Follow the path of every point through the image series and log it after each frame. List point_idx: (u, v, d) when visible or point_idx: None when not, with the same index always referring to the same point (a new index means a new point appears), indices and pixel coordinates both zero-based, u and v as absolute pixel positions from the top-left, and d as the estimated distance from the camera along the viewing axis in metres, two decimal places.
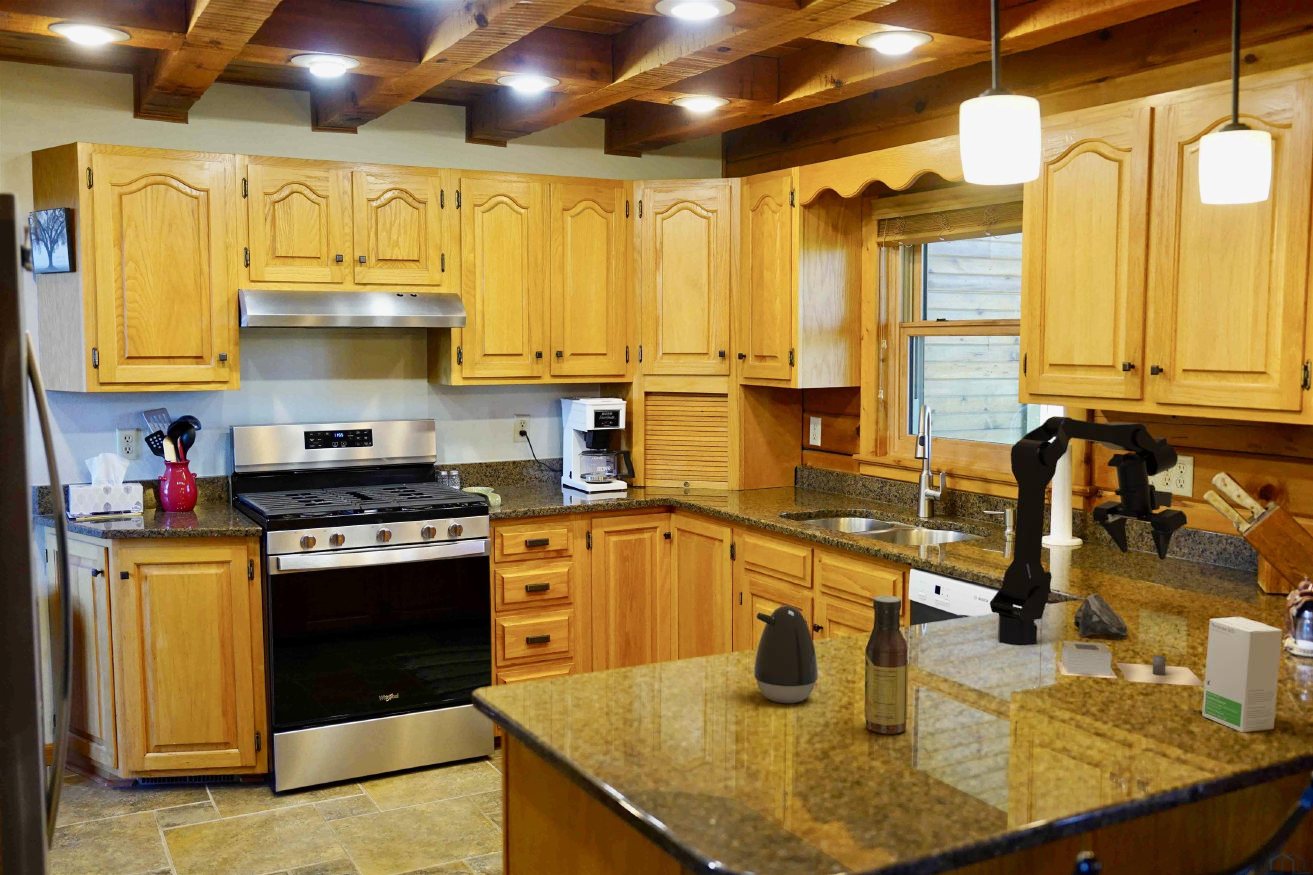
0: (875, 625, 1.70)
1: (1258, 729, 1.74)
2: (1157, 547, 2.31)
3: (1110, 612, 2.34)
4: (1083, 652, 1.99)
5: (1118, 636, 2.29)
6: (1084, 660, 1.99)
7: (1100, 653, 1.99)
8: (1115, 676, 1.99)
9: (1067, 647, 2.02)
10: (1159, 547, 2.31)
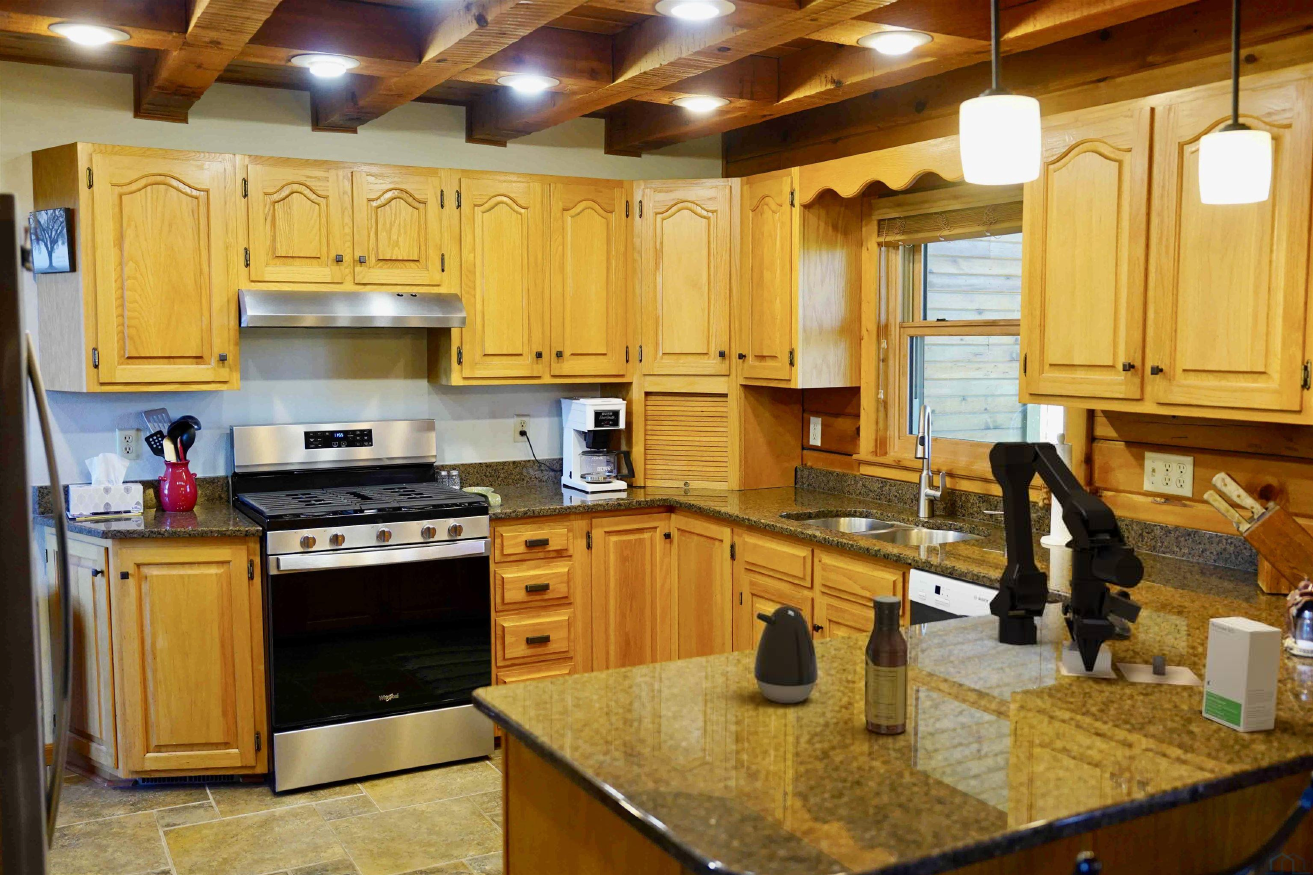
0: (875, 625, 1.70)
1: (1258, 729, 1.74)
2: (1080, 653, 1.99)
3: None
4: None
5: (1121, 636, 2.29)
6: None
7: (1100, 653, 1.99)
8: (1115, 676, 1.99)
9: (1067, 647, 2.02)
10: (1080, 654, 1.98)
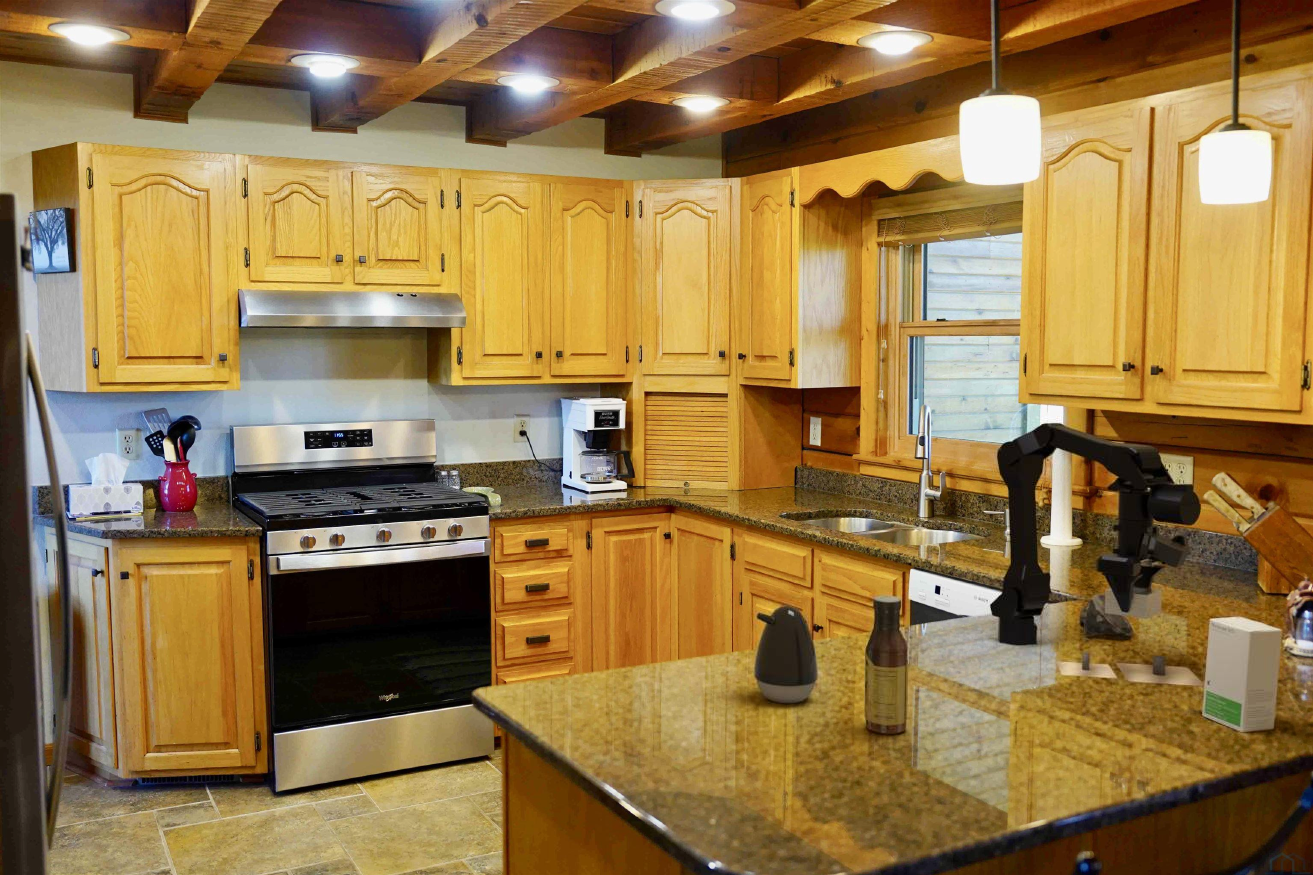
0: (875, 625, 1.70)
1: (1258, 729, 1.74)
2: None
3: None
4: None
5: (1122, 636, 2.29)
6: None
7: (1136, 594, 1.96)
8: (1115, 676, 1.99)
9: None
10: (1113, 593, 1.98)
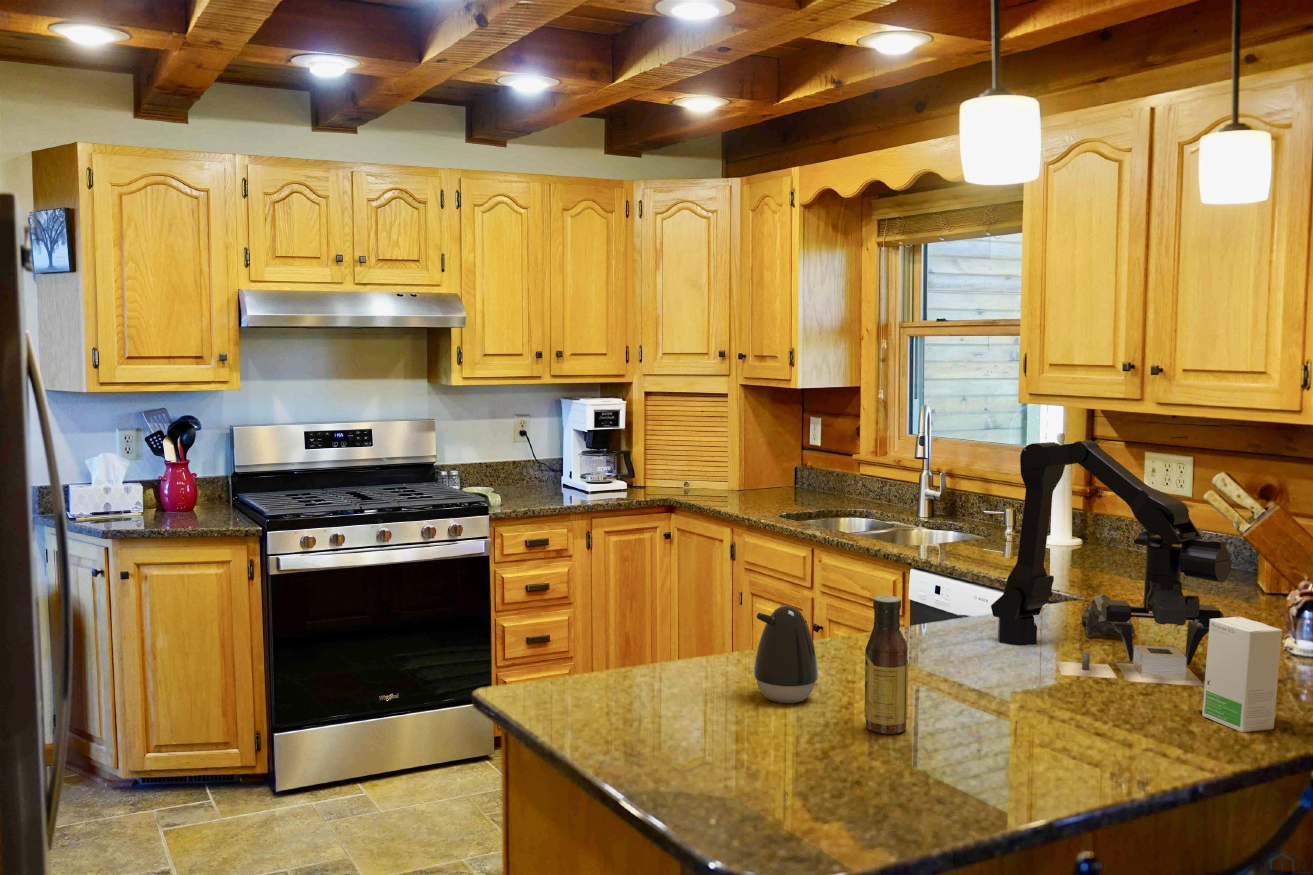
0: (875, 625, 1.70)
1: (1258, 729, 1.74)
2: None
3: None
4: (1137, 649, 2.02)
5: None
6: (1136, 657, 2.02)
7: (1140, 653, 1.99)
8: (1115, 676, 1.99)
9: (1147, 646, 2.04)
10: None
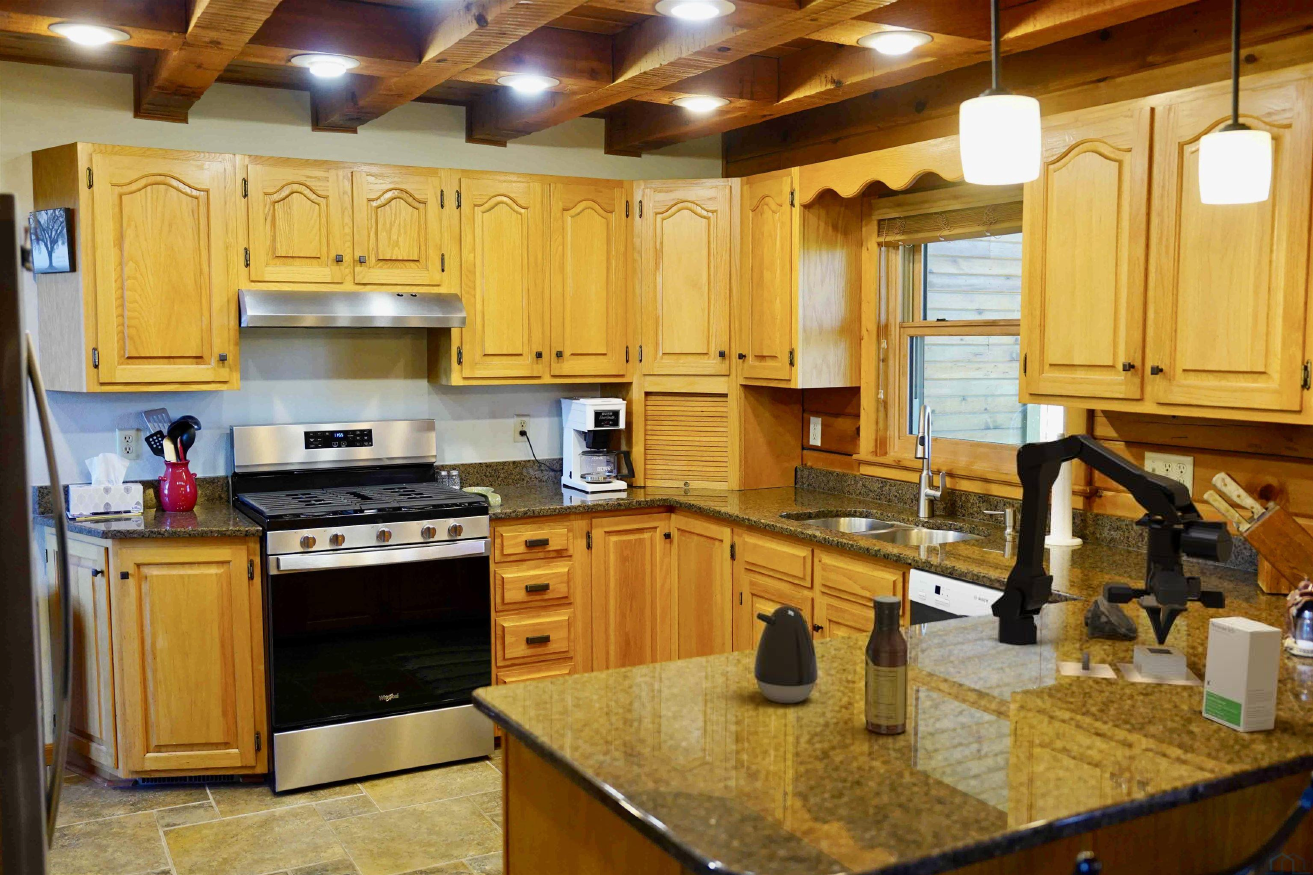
0: (875, 625, 1.70)
1: (1258, 729, 1.74)
2: None
3: (1120, 613, 2.34)
4: (1137, 649, 2.02)
5: (1127, 637, 2.28)
6: (1136, 657, 2.02)
7: (1140, 653, 1.99)
8: (1115, 676, 1.99)
9: (1147, 646, 2.04)
10: None
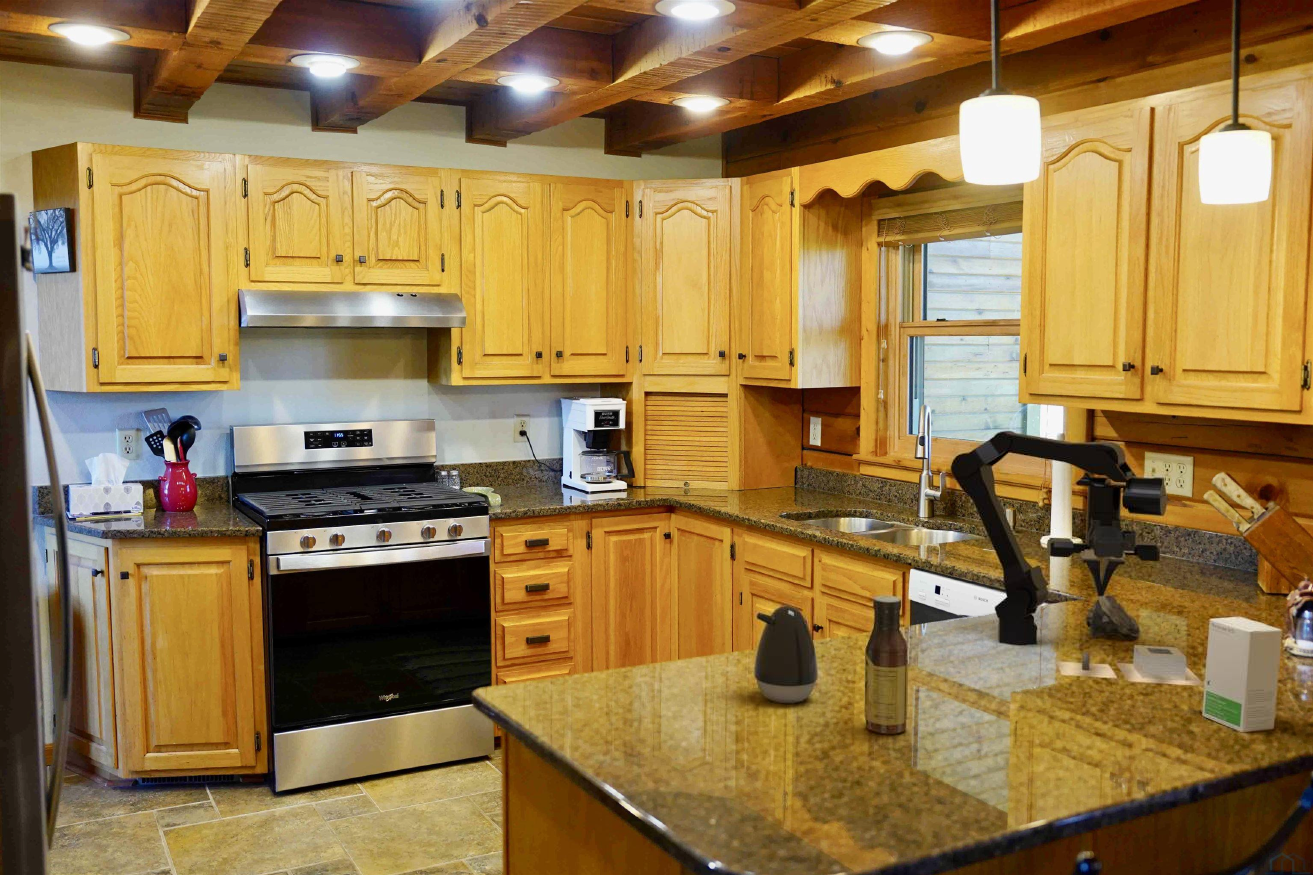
0: (875, 625, 1.70)
1: (1258, 729, 1.74)
2: None
3: (1122, 613, 2.33)
4: (1137, 649, 2.02)
5: (1128, 637, 2.28)
6: (1136, 657, 2.02)
7: (1140, 653, 1.99)
8: (1115, 676, 1.99)
9: (1147, 646, 2.04)
10: None
